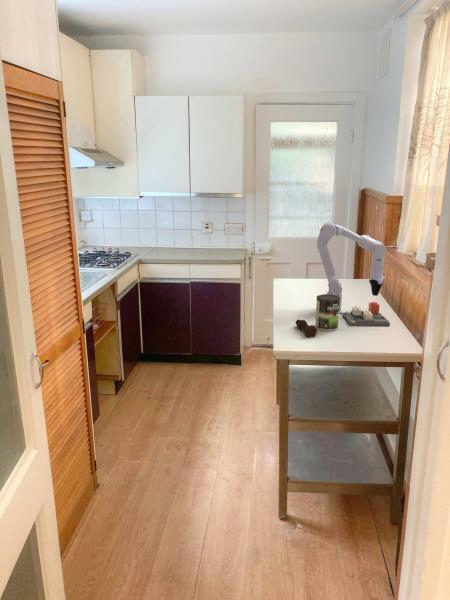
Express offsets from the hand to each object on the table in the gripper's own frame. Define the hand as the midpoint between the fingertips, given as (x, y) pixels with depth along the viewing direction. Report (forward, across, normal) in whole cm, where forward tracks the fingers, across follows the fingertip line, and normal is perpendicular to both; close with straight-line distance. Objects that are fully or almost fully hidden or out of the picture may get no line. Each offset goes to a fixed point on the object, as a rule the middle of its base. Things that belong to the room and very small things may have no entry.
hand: (375, 295), depth 234 cm
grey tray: (+9, -12, +7) cm, 16 cm away
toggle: (+8, -8, +10) cm, 15 cm away
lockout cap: (+10, 0, 0) cm, 10 cm away
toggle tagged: (+8, -14, +7) cm, 18 cm away
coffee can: (+10, -21, +27) cm, 36 cm away
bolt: (+10, -27, +38) cm, 47 cm away
